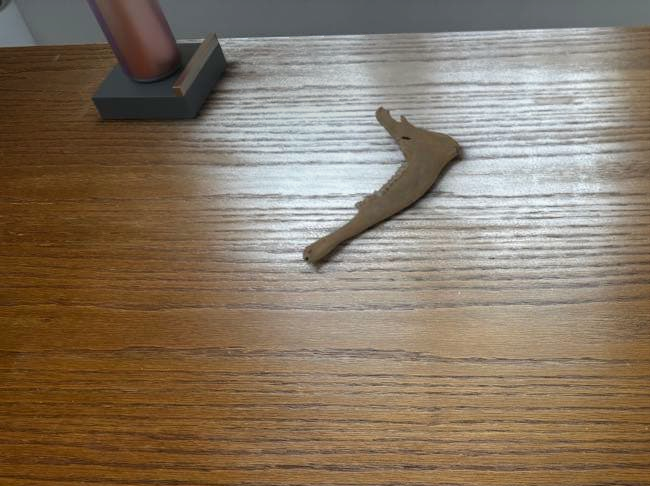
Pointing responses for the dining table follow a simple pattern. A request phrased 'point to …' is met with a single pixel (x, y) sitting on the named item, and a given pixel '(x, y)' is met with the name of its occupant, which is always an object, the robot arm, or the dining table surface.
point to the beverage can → (138, 37)
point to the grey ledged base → (164, 86)
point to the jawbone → (394, 180)
